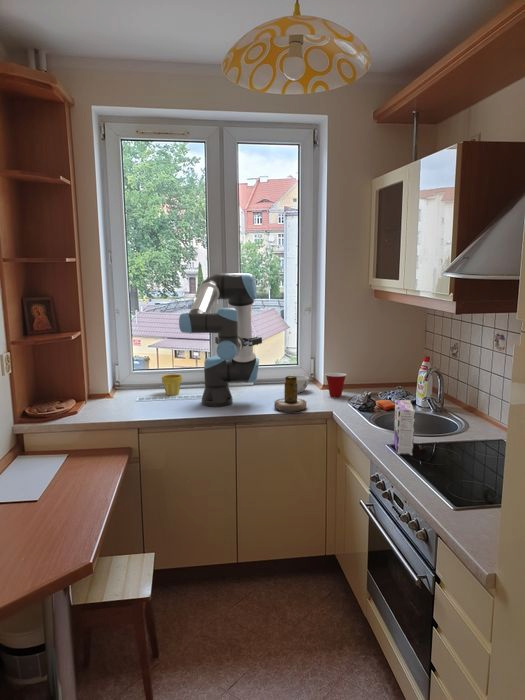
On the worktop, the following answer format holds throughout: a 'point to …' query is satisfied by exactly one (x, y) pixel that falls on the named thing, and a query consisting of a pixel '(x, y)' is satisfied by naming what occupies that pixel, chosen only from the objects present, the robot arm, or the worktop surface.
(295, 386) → the condiment
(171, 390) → the plant pot
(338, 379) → the plastic cup
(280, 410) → the turntable base
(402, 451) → the candy box
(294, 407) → the disc
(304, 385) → the teacup
